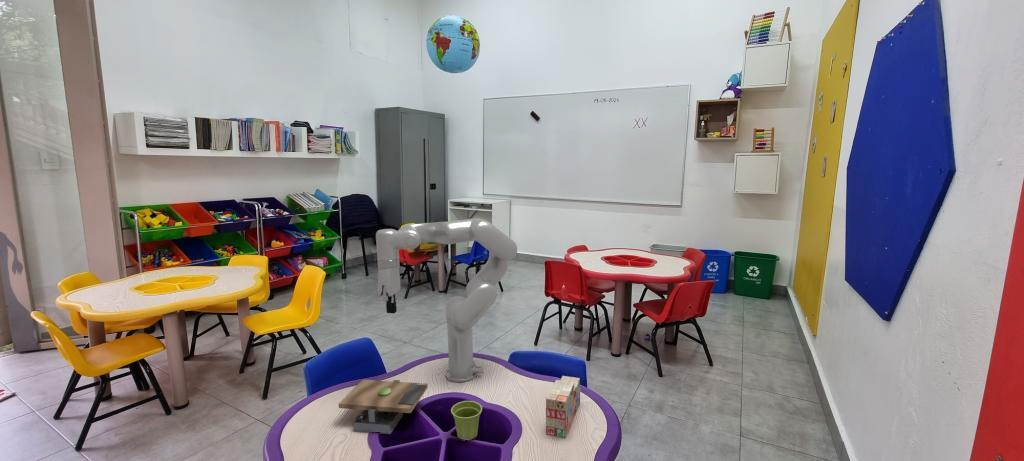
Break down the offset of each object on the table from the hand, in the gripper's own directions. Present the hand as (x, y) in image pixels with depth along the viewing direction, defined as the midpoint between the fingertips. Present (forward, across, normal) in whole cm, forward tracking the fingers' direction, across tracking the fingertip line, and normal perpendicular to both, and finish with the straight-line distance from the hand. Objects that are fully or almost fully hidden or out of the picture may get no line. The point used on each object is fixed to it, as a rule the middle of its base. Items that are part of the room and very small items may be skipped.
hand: (391, 312), depth 163 cm
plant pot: (+29, +26, +34) cm, 52 cm away
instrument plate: (+23, +18, +4) cm, 30 cm away
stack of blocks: (+30, +13, +63) cm, 71 cm away
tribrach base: (+29, +18, +4) cm, 34 cm away
